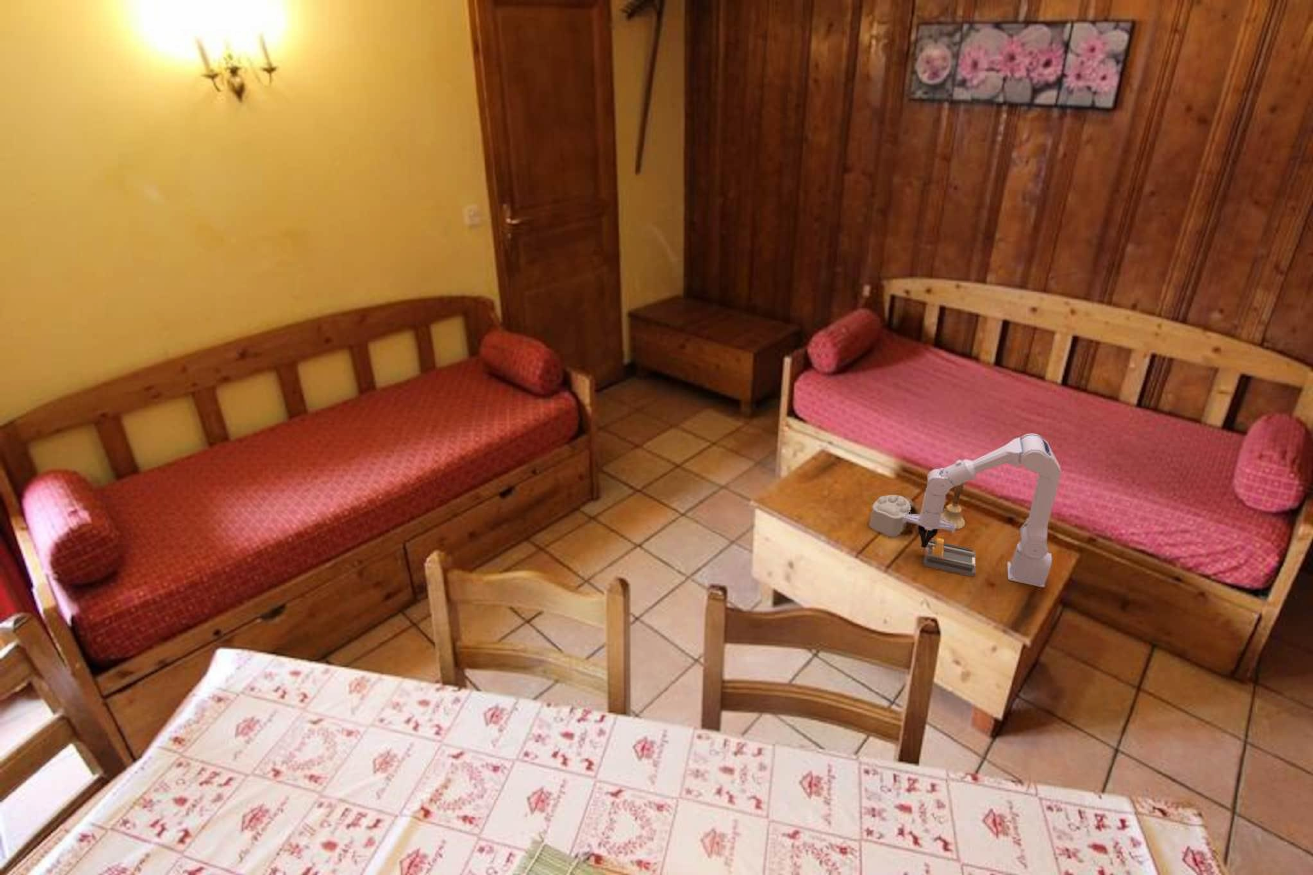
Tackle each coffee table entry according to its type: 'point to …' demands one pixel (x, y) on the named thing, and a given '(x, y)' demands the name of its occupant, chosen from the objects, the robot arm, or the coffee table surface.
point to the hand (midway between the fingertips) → (923, 545)
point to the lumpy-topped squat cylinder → (889, 514)
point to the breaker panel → (951, 559)
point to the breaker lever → (938, 547)
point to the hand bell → (954, 509)
